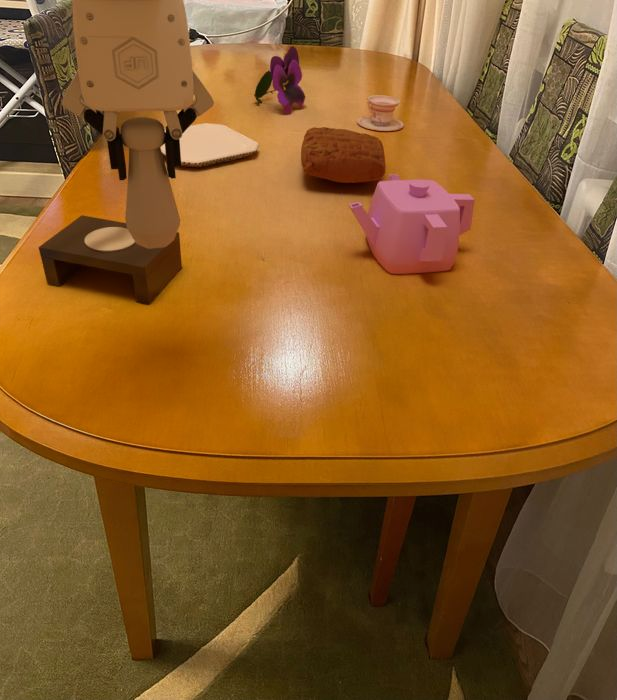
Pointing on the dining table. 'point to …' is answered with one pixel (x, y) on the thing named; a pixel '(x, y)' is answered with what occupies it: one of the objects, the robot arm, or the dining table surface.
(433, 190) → the teakettle
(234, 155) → the plate
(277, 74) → the flower
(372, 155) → the inscribed clay slab
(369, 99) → the teacup
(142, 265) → the shelf
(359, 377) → the dining table surface
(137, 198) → the salt shaker
